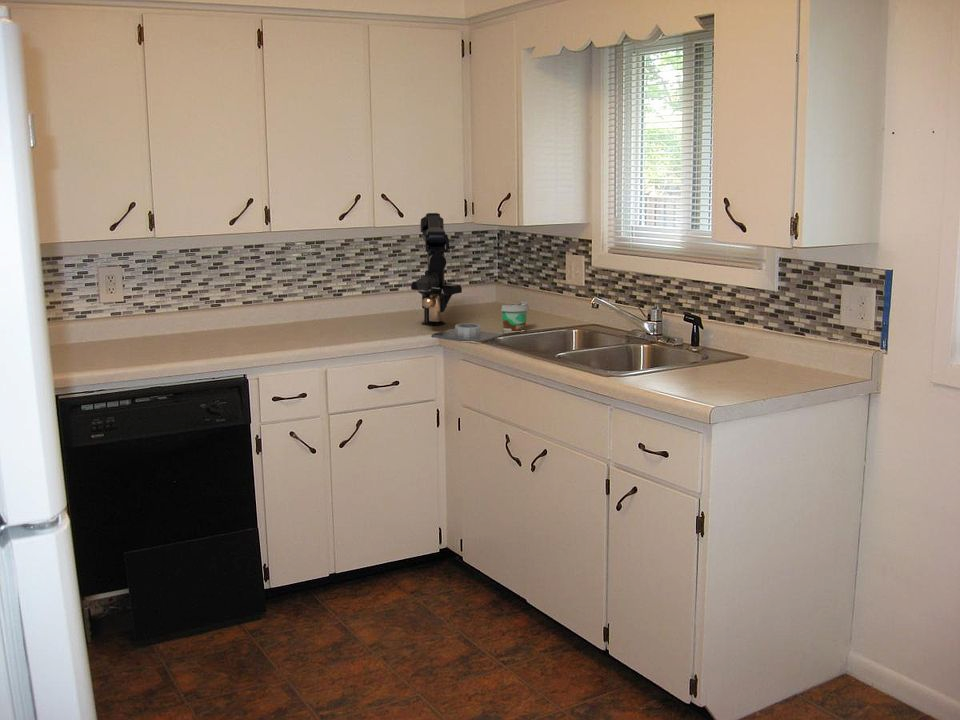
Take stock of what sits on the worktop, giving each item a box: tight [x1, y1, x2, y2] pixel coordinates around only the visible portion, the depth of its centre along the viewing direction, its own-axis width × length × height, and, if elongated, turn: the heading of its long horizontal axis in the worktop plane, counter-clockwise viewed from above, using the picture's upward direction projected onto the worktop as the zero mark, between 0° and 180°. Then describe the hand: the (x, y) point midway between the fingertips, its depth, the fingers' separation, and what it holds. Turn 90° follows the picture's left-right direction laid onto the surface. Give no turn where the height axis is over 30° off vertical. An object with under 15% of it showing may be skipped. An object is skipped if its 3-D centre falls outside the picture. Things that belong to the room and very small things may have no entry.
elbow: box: [421, 294, 444, 322], centre depth 347 cm, size 5×8×9 cm, turn 144°
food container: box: [500, 301, 530, 332], centre depth 352 cm, size 12×6×10 cm, turn 143°
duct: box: [431, 322, 505, 342], centre depth 342 cm, size 20×15×4 cm
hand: (436, 311), depth 349 cm, fingers closed on elbow, 5 cm apart
